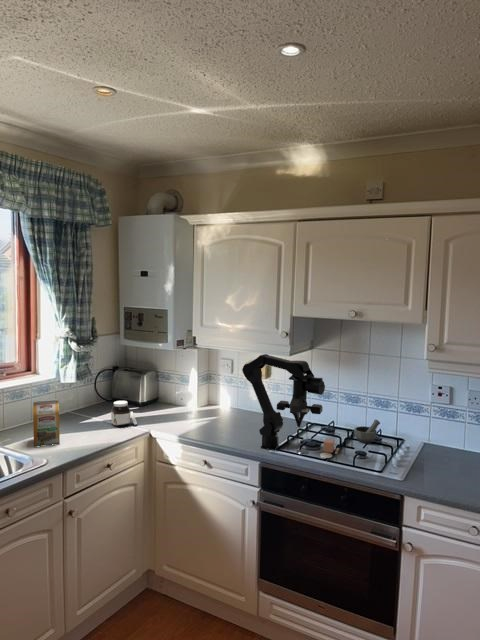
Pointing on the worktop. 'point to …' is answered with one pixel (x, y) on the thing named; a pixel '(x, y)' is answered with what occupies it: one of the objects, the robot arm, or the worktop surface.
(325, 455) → the ceramic puck
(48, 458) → the worktop surface
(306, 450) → the steel puck
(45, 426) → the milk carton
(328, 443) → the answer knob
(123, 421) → the spread jar
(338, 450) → the selector rail
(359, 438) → the mortar and pestle
